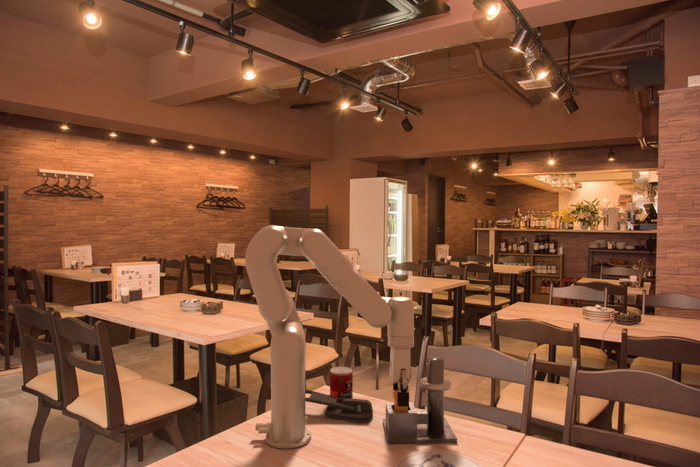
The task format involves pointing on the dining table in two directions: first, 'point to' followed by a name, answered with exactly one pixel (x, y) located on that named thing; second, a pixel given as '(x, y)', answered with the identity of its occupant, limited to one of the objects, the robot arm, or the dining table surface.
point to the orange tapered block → (396, 402)
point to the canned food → (341, 382)
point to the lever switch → (422, 413)
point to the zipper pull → (343, 407)
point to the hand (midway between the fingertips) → (400, 399)
